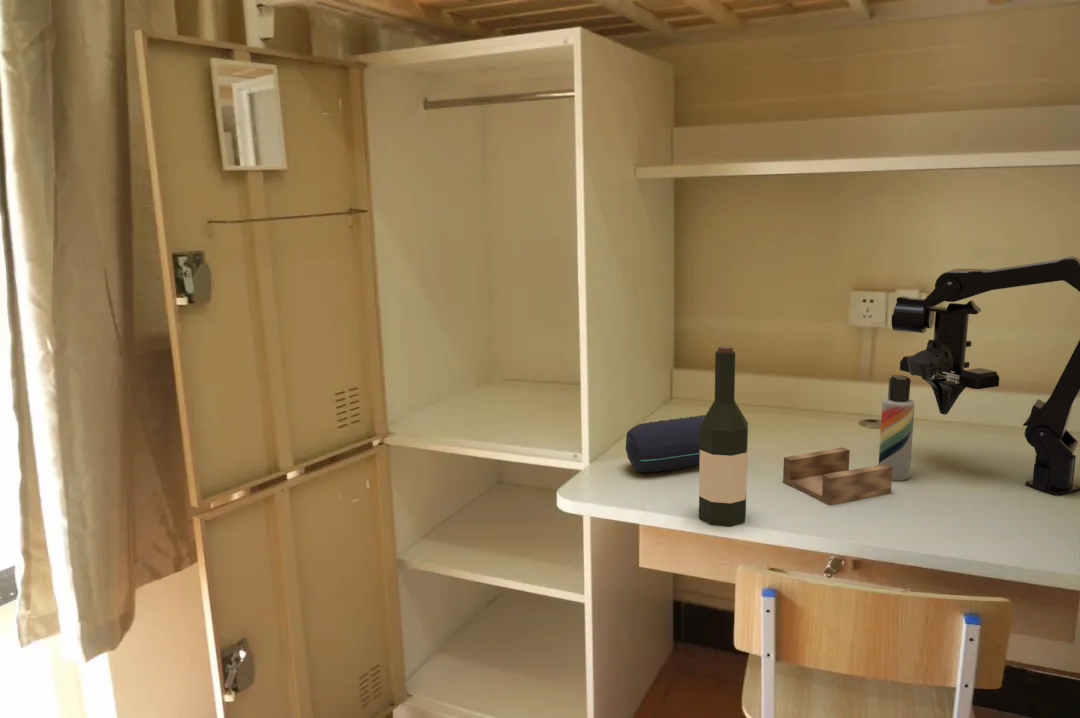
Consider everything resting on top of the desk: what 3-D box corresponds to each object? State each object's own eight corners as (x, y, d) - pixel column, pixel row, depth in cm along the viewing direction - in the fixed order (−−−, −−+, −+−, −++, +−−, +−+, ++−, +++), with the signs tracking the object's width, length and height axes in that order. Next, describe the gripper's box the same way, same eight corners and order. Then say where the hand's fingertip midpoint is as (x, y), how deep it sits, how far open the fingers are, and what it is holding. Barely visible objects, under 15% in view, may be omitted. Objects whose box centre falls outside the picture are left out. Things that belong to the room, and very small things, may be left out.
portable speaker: (723, 451, 178) (724, 406, 176) (749, 465, 169) (750, 418, 167) (617, 466, 171) (616, 420, 168) (638, 482, 161) (638, 433, 159)
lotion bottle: (880, 469, 164) (886, 371, 160) (911, 474, 161) (918, 374, 157) (875, 478, 159) (881, 377, 155) (907, 483, 156) (914, 380, 152)
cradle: (841, 471, 164) (842, 447, 163) (890, 492, 152) (892, 467, 151) (782, 482, 159) (783, 457, 158) (829, 505, 147) (830, 478, 146)
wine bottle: (712, 504, 149) (714, 340, 143) (755, 515, 144) (760, 345, 137) (689, 519, 142) (690, 348, 136) (733, 530, 137) (737, 353, 131)
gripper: (881, 331, 164) (876, 407, 167) (959, 347, 147) (952, 431, 150) (923, 326, 168) (918, 401, 171) (1005, 342, 151) (997, 424, 154)
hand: (943, 413), depth 162 cm, fingers closed
